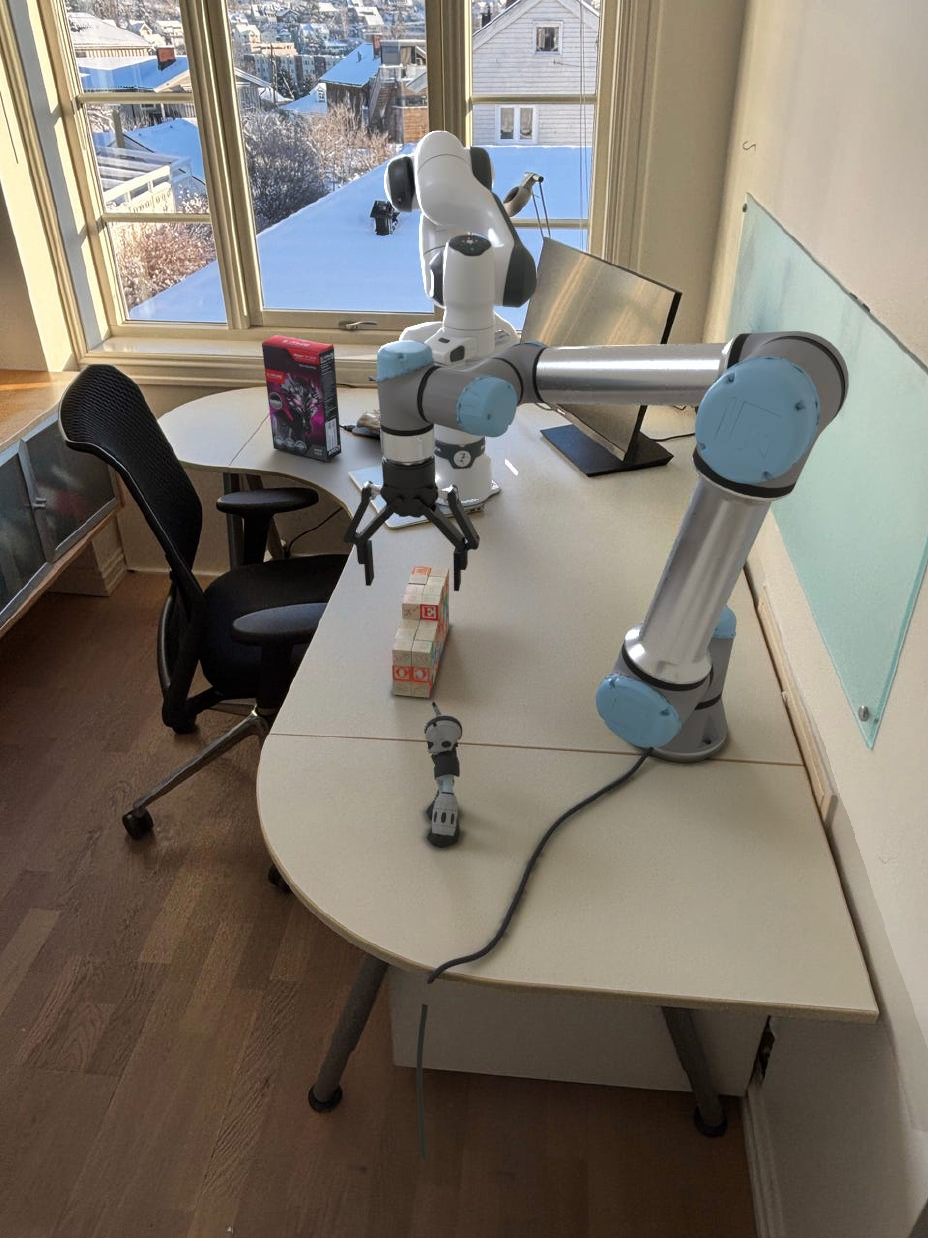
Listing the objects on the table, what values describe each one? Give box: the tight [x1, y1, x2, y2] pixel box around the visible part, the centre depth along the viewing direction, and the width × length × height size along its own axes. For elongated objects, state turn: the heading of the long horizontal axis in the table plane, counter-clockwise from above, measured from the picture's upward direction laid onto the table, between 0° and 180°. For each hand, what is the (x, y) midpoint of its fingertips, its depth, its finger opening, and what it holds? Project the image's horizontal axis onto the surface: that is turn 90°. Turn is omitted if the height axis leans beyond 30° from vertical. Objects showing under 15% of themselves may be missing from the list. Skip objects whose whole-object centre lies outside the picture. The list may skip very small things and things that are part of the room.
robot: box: [423, 701, 463, 848], centre depth 121 cm, size 20×5×20 cm, turn 3°
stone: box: [356, 409, 381, 439], centre depth 235 cm, size 21×15×6 cm
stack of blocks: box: [391, 565, 450, 699], centre depth 155 cm, size 21×6×12 cm, turn 173°
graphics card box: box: [261, 334, 342, 462], centre depth 222 cm, size 17×7×27 cm, turn 62°
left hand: (468, 417), depth 164 cm, fingers open, 8 cm apart
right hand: (413, 584), depth 141 cm, fingers open, 13 cm apart
